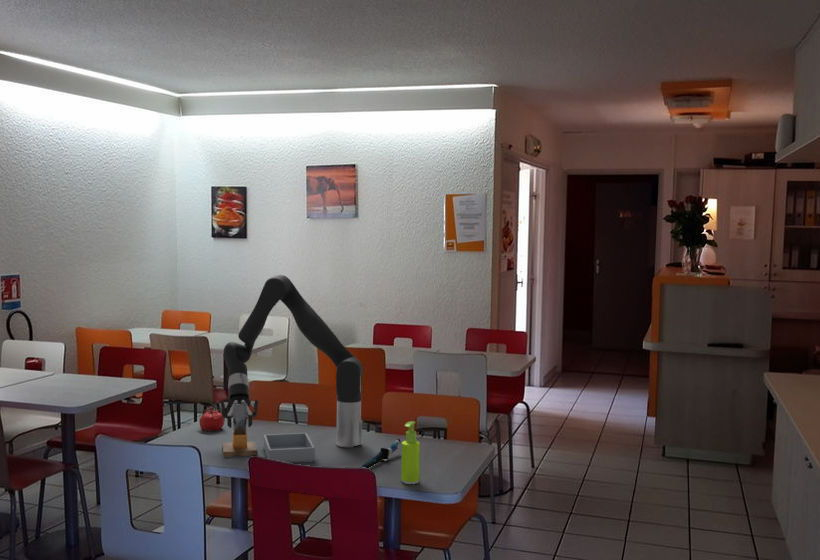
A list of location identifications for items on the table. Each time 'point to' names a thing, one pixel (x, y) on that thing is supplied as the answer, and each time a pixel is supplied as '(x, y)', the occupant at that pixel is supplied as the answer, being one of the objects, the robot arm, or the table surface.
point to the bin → (289, 447)
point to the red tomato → (211, 420)
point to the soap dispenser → (410, 455)
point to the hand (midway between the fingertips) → (240, 426)
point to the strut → (239, 425)
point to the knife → (383, 454)
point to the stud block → (239, 450)
